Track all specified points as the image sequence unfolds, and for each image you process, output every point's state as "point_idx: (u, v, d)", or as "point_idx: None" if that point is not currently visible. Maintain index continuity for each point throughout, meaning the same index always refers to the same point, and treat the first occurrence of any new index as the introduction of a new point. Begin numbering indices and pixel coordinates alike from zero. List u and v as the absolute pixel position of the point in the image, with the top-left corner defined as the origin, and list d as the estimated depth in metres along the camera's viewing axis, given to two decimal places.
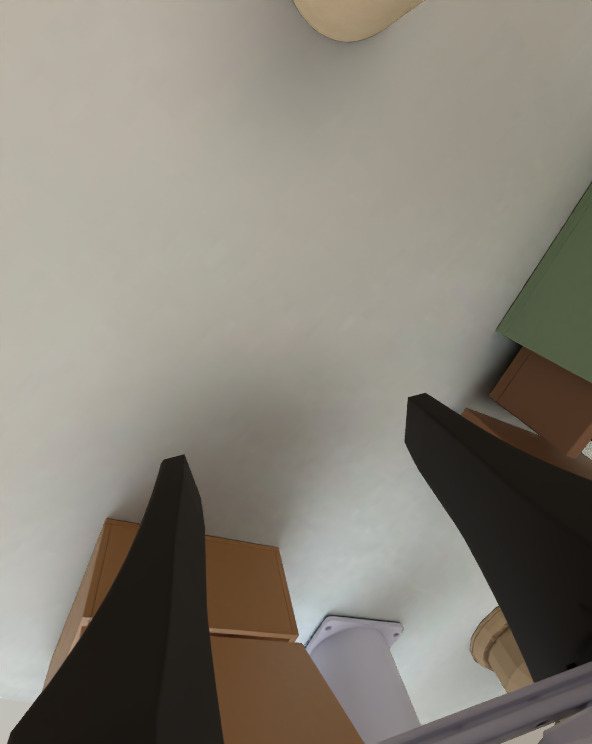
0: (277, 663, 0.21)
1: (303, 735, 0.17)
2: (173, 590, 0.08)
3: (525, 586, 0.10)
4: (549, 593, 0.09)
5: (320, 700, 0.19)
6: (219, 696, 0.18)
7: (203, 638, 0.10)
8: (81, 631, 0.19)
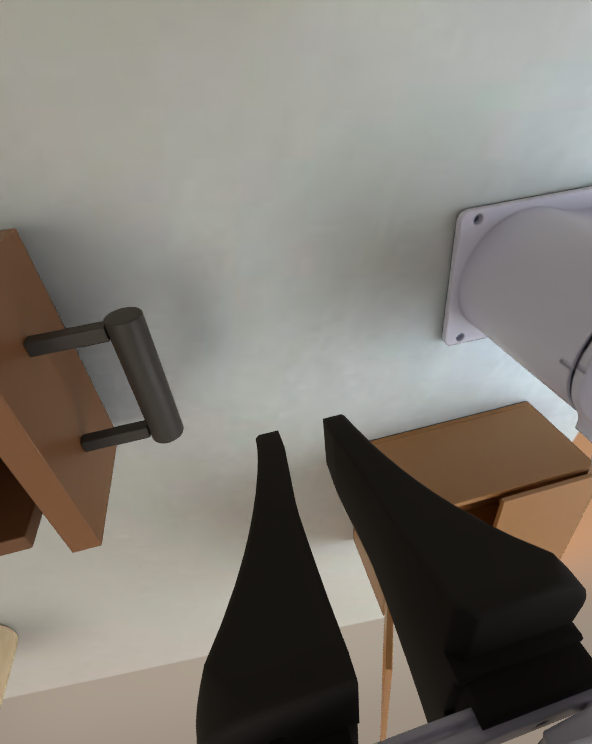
0: None
1: None
2: None
3: (412, 625, 0.09)
4: (426, 636, 0.08)
5: (386, 621, 0.21)
6: None
7: None
8: None
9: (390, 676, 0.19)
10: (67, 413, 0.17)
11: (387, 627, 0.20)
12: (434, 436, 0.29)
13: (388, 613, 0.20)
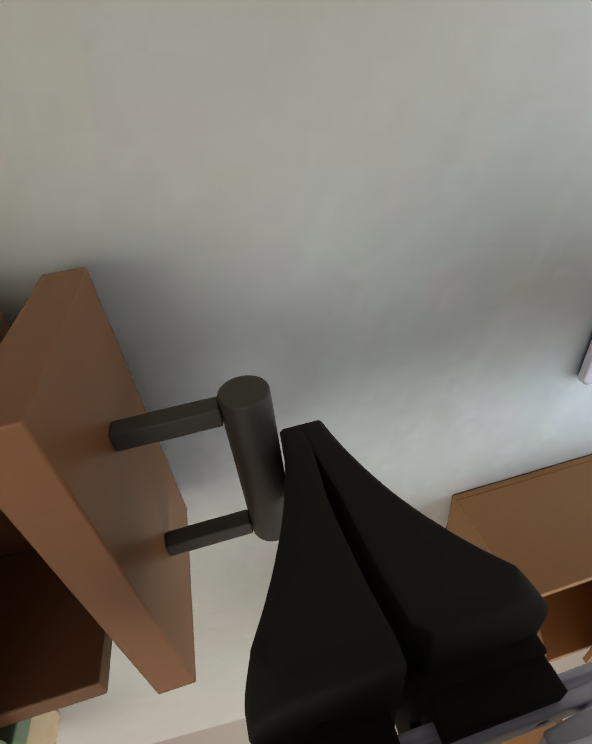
0: None
1: None
2: None
3: None
4: None
5: None
6: None
7: None
8: None
9: None
10: (152, 511, 0.13)
11: None
12: (549, 483, 0.25)
13: None
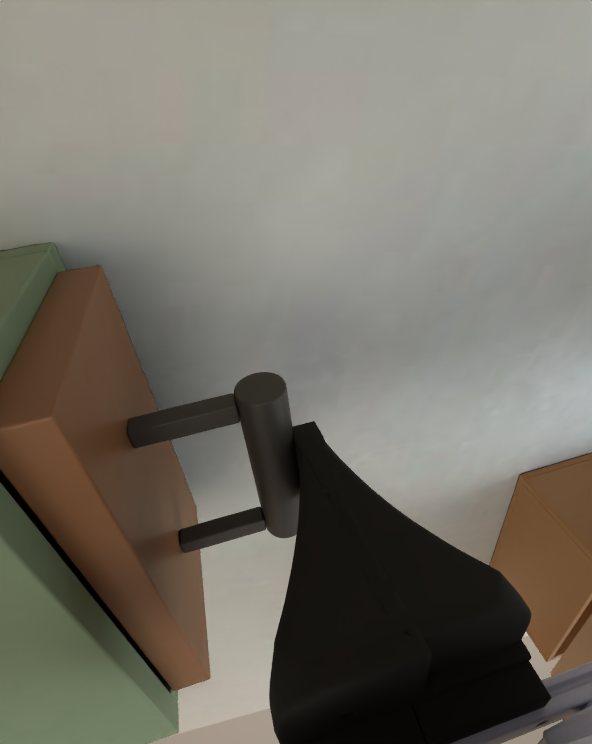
0: None
1: None
2: None
3: None
4: None
5: None
6: None
7: None
8: None
9: None
10: (166, 509, 0.13)
11: None
12: None
13: None
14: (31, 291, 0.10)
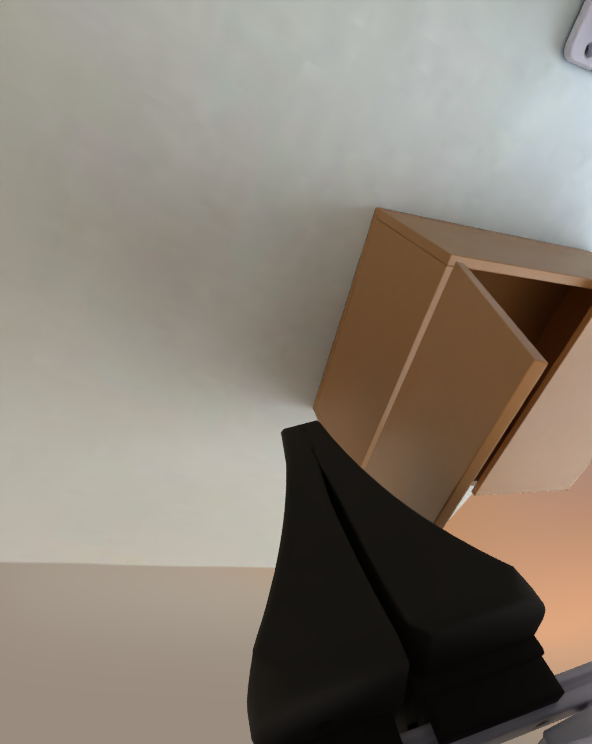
0: (438, 348, 0.13)
1: (465, 449, 0.10)
2: None
3: None
4: None
5: (477, 347, 0.10)
6: (406, 480, 0.13)
7: None
8: None
9: (525, 395, 0.08)
10: None
11: (504, 325, 0.10)
12: (489, 234, 0.20)
13: (499, 312, 0.10)
14: None
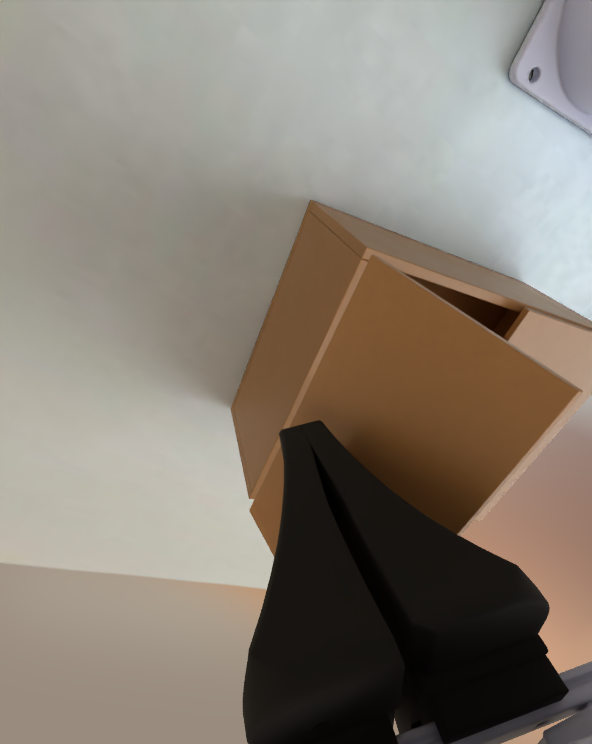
0: (377, 354, 0.12)
1: (482, 471, 0.10)
2: None
3: None
4: None
5: (462, 363, 0.10)
6: None
7: None
8: (253, 517, 0.18)
9: (558, 420, 0.09)
10: None
11: (505, 346, 0.10)
12: (424, 246, 0.20)
13: (486, 330, 0.10)
14: None
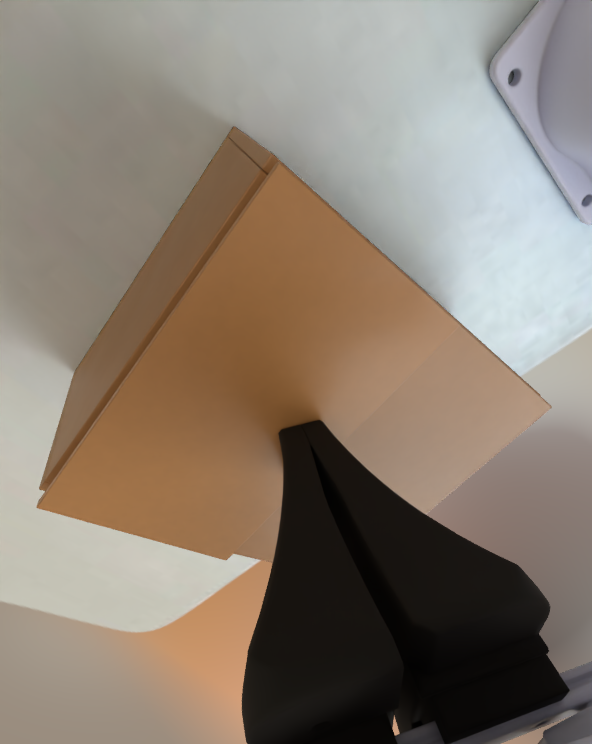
0: (283, 297, 0.10)
1: (384, 385, 0.13)
2: None
3: None
4: None
5: (383, 307, 0.11)
6: (268, 430, 0.13)
7: None
8: (50, 510, 0.13)
9: None
10: None
11: (421, 293, 0.11)
12: None
13: (408, 278, 0.11)
14: None
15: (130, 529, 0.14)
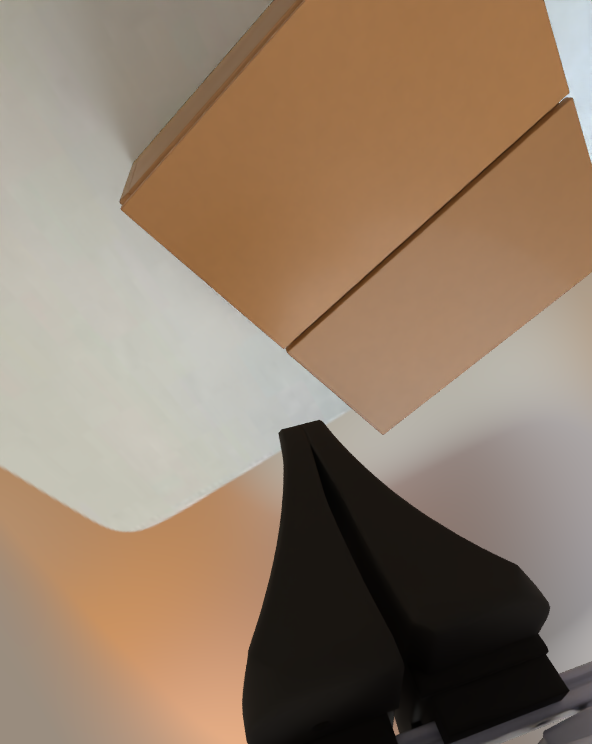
0: None
1: (487, 149, 0.13)
2: None
3: None
4: None
5: (515, 41, 0.11)
6: (373, 174, 0.12)
7: None
8: (133, 218, 0.11)
9: None
10: None
11: (550, 36, 0.12)
12: None
13: (545, 11, 0.11)
14: None
15: (205, 273, 0.13)
